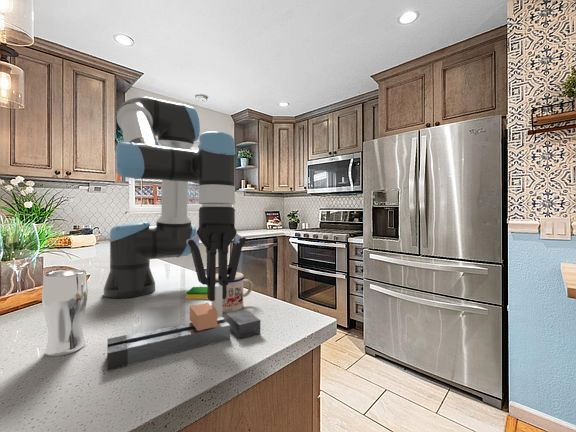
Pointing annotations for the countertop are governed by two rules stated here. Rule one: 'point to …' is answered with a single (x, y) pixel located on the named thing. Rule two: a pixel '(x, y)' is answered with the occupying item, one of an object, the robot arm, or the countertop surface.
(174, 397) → the countertop surface
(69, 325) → the beer glass
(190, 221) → the robot arm
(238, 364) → the countertop surface
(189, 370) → the countertop surface
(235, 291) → the teacup with lid
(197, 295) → the dish sponge
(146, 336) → the tong arm
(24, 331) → the countertop surface
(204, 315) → the peach rectangular block
